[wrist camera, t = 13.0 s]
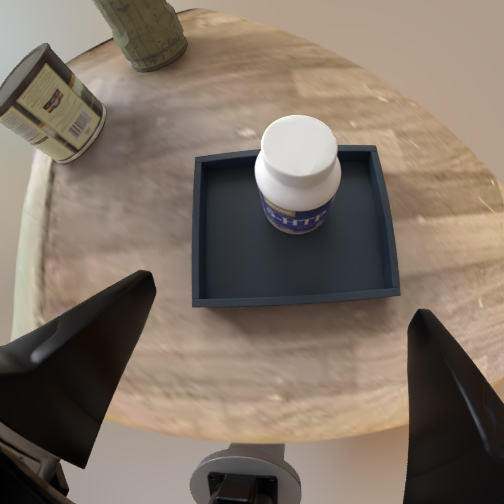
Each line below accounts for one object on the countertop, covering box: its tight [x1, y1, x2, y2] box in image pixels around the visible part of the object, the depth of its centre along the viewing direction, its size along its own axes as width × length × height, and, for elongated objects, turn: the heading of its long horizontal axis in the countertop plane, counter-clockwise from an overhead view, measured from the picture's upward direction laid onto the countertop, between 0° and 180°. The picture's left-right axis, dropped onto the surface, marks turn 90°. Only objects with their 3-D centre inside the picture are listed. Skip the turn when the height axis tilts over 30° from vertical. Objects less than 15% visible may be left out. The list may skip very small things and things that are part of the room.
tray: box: [192, 145, 400, 307], centre depth 21 cm, size 12×15×3 cm
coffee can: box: [0, 43, 106, 164], centre depth 22 cm, size 10×10×14 cm
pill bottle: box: [255, 115, 341, 234], centre depth 17 cm, size 5×5×9 cm
